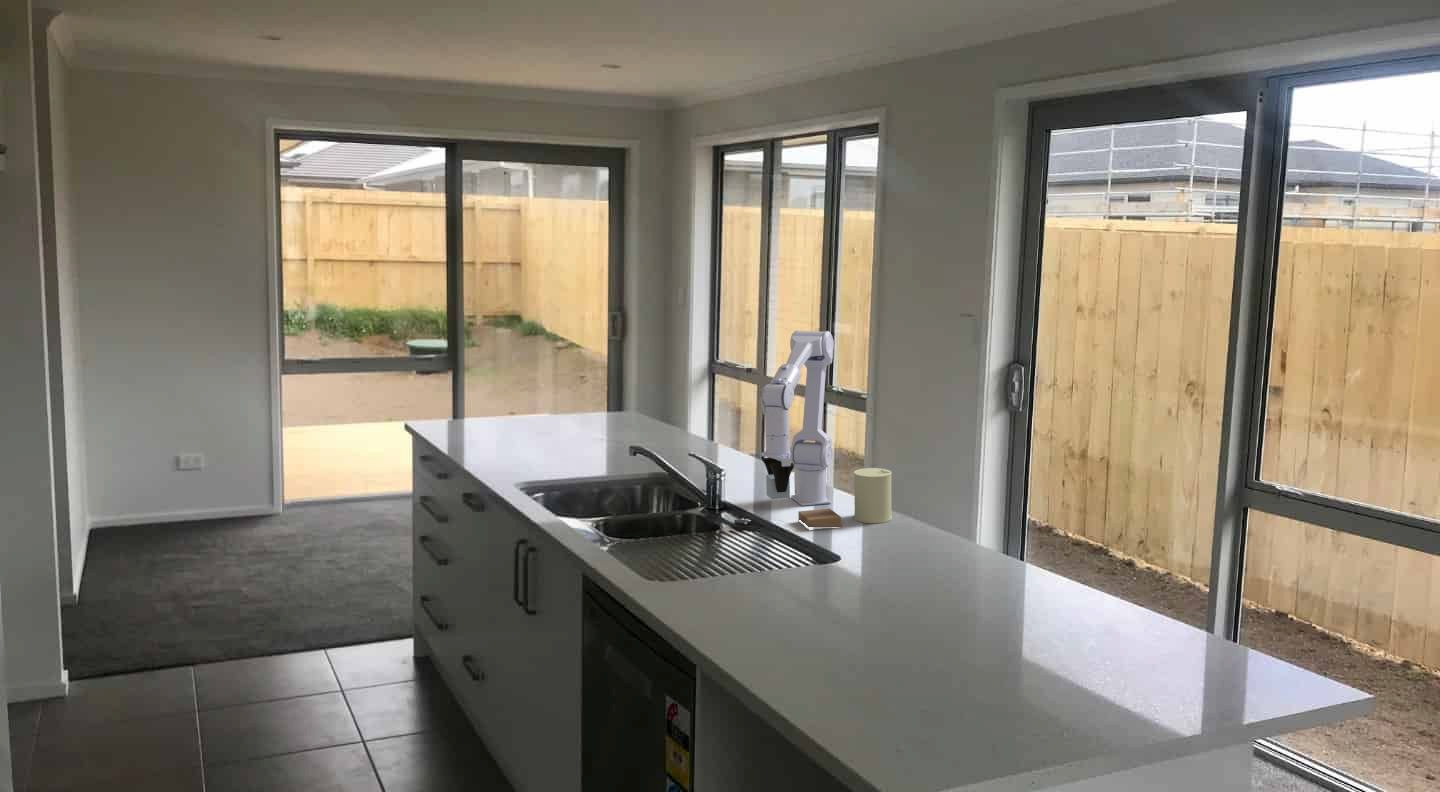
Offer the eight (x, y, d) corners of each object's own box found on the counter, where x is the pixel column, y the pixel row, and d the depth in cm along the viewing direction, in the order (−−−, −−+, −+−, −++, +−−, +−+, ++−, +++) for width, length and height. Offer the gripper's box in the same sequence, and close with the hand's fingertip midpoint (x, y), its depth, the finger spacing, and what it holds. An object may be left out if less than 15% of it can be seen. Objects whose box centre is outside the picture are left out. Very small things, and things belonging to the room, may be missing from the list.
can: (894, 523, 272) (894, 474, 270) (855, 523, 272) (855, 475, 270) (889, 512, 281) (889, 465, 279) (852, 513, 282) (851, 466, 280)
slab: (798, 523, 276) (798, 511, 275) (829, 520, 278) (829, 508, 277) (809, 532, 268) (808, 519, 268) (841, 529, 270) (841, 516, 269)
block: (766, 495, 275) (766, 474, 275) (784, 493, 276) (784, 473, 276) (771, 499, 271) (771, 479, 270) (789, 497, 272) (789, 477, 271)
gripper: (753, 429, 277) (754, 483, 280) (769, 441, 263) (770, 498, 266) (781, 427, 279) (782, 481, 281) (798, 438, 265) (799, 495, 267)
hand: (778, 489), depth 274 cm, fingers closed on block, 4 cm apart
